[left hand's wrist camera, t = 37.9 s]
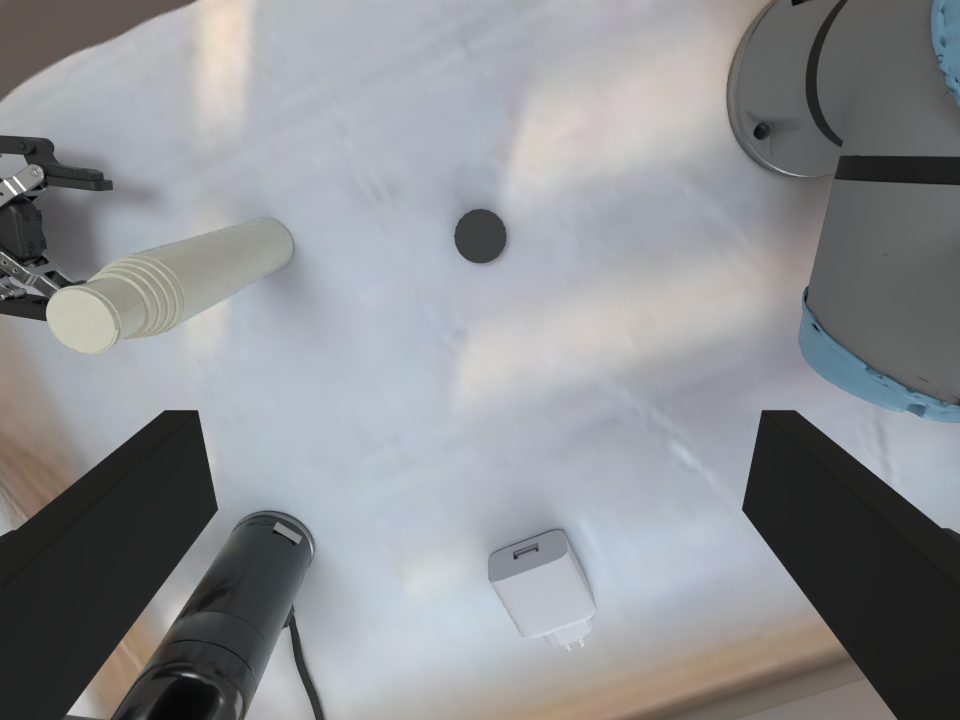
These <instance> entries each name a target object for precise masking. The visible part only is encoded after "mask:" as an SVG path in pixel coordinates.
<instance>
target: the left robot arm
mask: <svg viewBox="0 0 960 720" xmlns="http://www.w3.org/2000/svg"><path fill="white" fill-rule="evenodd" d="M727 106H728V113H729V118H730V122H731V126H732V128H733V131H734V134H735V136H736V138H737V140H738V141H739V143H740V145H741V146H742V148H743V149H744V150H745V151H746V153H747V154H748V155H749V156H750V157H751V158H752V159H753V160H755V161H756V162H757V163H759V164H760V165H762V166H763V167H765V168H767V169H769V170H771V171H773V172H776V173H780V174H783V175H789V176H800V177H820V176H827V175H832V174H835V177H834V178H835V179H834V181H833V185H832V189H831V194H830V198H829V202H828V206H827V211H826V215H825V219H824V223H823V228H822V232H821V236H820V240H819V244H818V249H817V253H816V257H815V261H814V266H813V270H812V274H811V278H810V283H809V286H807V287H806V288H805V290H804V293H803V296H802V304H803V314H802V320H801V325H800V331H799V337H798V339H799V346H800V347H801V352H802V353H803V357H804V358H805V360H806V361H807V363H808V364H809V365H810V366H811V367H812V368H813V369H814V370H815V371H816V372H817V373H818V374H819V375H821V376H822V377H823V378H825V379H826V380H828V381H829V382H831V383H832V384H834V385H836V386H837V387H839V388H841V389H843V390H844V391H846V392H848V393H850V394H852V395H854V396H857V397H859V398H861V399H863V400H865V401H868V402H870V403H873V404H875V405H878V406H881V407H884V408H887V409H890V410H893V411H897V412H903V411H910V412H912V413H914V414H916V415H918V416H919V417H921V418H925V419H930V420H936V421H942V422H960V0H772V1H771V2H770V3H769V4H768V5H767V6H766V7H765V8H764V9H763V10H762V11H761V12H760V13H759V14H758V16H757V17H756V18H755V19H754V21H753V22H752V23H751V25H750V26H749V28H748V29H747V31H746V33H745V34H744V36H743V38H742V40H741V42H740V44H739V46H738V48H737V50H736V53H735V56H734V58H733V62H732V65H731V69H730V73H729V79H728V86H727ZM217 510H218V507H217V502H216V497H215V492H214V487H213V483H212V478H211V473H210V468H209V463H208V458H207V453H206V448H205V443H204V438H203V433H202V428H201V423H200V418H199V413H198V410H165V411H163V412H162V413H161V414H160V415H158V416H157V417H156V418H155V419H154V420H152V421H151V422H150V423H149V424H147V425H146V426H145V427H144V428H142V429H141V430H140V431H139V432H137V433H136V434H135V435H134V436H132V437H131V438H130V439H129V440H127V441H126V442H125V443H124V444H122V445H121V446H120V447H119V448H118V449H116V450H115V451H114V452H113V453H111V454H110V455H109V456H108V457H106V458H105V459H104V460H103V461H101V462H100V463H99V464H98V465H96V466H95V467H94V468H93V469H91V470H90V471H89V472H88V473H86V474H85V475H84V476H83V477H81V478H80V479H79V480H78V481H77V482H75V483H74V484H73V485H72V486H70V487H69V488H68V489H67V490H65V491H64V492H63V493H62V494H60V495H59V496H58V497H57V498H55V499H54V500H53V501H52V502H50V503H49V504H48V505H47V506H45V507H44V508H43V509H42V510H41V511H39V512H38V513H37V514H36V515H34V516H33V517H32V518H31V519H29V520H28V521H27V522H26V523H24V524H23V525H22V526H21V527H19V528H18V529H17V530H12V531H10V532H8V533H6V534H4V535H2V536H0V720H62V719H63V718H64V717H65V715H66V714H67V713H68V711H69V710H70V709H71V707H72V706H73V705H74V703H75V702H76V701H77V699H78V698H79V696H80V695H81V694H82V692H83V691H84V690H85V688H86V687H87V686H88V684H89V683H90V682H91V680H92V679H93V678H94V676H95V675H96V674H97V672H98V671H99V670H100V668H101V667H102V665H103V664H104V663H105V661H106V660H107V659H108V657H109V656H110V655H111V653H112V652H113V651H114V649H115V648H116V647H117V645H118V644H119V643H120V641H121V640H122V639H123V637H124V636H125V634H126V633H127V632H128V630H129V629H130V628H131V626H132V625H133V624H134V622H135V621H136V620H137V618H138V617H139V616H140V614H141V613H142V612H143V610H144V609H145V608H146V606H147V605H148V603H149V602H150V601H151V599H152V598H153V597H154V595H155V594H156V593H157V591H158V590H159V589H160V587H161V586H162V585H163V583H164V582H165V581H166V579H167V578H168V576H169V575H170V574H171V572H172V571H173V570H174V568H175V567H176V566H177V564H178V563H179V562H180V560H181V559H182V558H183V556H184V555H185V554H186V552H187V551H188V550H189V548H190V547H191V545H192V544H193V543H194V541H195V540H196V539H197V537H198V536H199V535H200V533H201V532H202V531H203V529H204V528H205V527H206V525H207V524H208V523H209V521H210V520H211V519H212V517H213V516H214V514H215V513H216V512H217ZM742 510H743V512H744V513H745V514H746V516H747V517H748V519H749V520H750V521H751V523H752V524H753V525H754V527H755V528H756V529H757V531H758V532H759V533H760V535H761V536H762V537H763V539H764V540H765V541H766V543H767V544H768V545H769V547H770V548H771V550H772V551H773V552H774V554H775V555H776V556H777V558H778V559H779V560H780V562H781V563H782V564H783V566H784V567H785V568H786V570H787V571H788V572H789V574H790V575H791V576H792V578H793V579H794V581H795V582H796V583H797V585H798V586H799V587H800V589H801V590H802V591H803V593H804V594H805V595H806V597H807V598H808V599H809V601H810V602H811V603H812V605H813V606H814V608H815V609H816V610H817V612H818V613H819V614H820V616H821V617H822V618H823V620H824V621H825V622H826V624H827V625H828V626H829V628H830V629H831V630H832V632H833V633H834V634H835V636H836V637H837V639H838V640H839V641H840V643H841V644H842V645H843V647H844V648H845V649H846V651H847V652H848V653H849V655H850V656H851V657H852V659H853V660H854V661H855V663H856V664H857V665H858V667H859V668H860V670H861V671H862V672H863V674H864V675H865V676H866V678H867V679H868V680H869V682H870V683H871V684H872V686H873V687H874V688H875V690H876V691H877V692H878V694H879V695H880V696H881V698H882V699H883V701H884V702H885V703H886V705H887V706H888V707H889V709H890V710H891V711H892V713H893V714H894V715H895V717H896V718H897V719H898V720H960V534H958V533H956V532H955V531H953V530H951V529H949V528H941V527H939V526H938V525H937V524H936V523H934V522H933V521H932V520H931V519H929V518H928V517H927V516H926V515H924V514H923V513H922V512H921V511H919V510H918V509H917V508H916V507H915V506H913V505H912V504H911V503H910V502H908V501H907V500H906V499H905V498H903V497H902V496H901V495H900V494H898V493H897V492H896V491H895V490H893V489H892V488H891V487H890V486H888V485H887V484H886V483H885V482H883V481H882V480H881V479H880V478H879V477H877V476H876V475H875V474H874V473H872V472H871V471H870V470H869V469H867V468H866V467H865V466H864V465H862V464H861V463H860V462H859V461H857V460H856V459H855V458H854V457H852V456H851V455H850V454H849V453H847V452H846V451H845V450H844V449H842V448H841V447H840V446H839V445H838V444H836V443H835V442H834V441H833V440H831V439H830V438H829V437H828V436H826V435H825V434H824V433H823V432H821V431H820V430H819V429H818V428H816V427H815V426H814V425H813V424H811V423H810V422H809V421H808V420H806V419H805V418H804V417H803V416H802V415H800V414H799V413H798V412H797V411H795V410H762V413H761V418H760V423H759V428H758V433H757V438H756V443H755V448H754V453H753V458H752V463H751V468H750V473H749V478H748V482H747V487H746V492H745V497H744V502H743V507H742Z"/></svg>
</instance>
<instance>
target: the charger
mask: <svg viewBox="0 0 960 720" xmlns="http://www.w3.org/2000/svg"><path fill="white" fill-rule="evenodd" d="M488 571H489V581H490V582H491V584H492V586H493V588H494V589H495V591H496V593H497V595H498V596H499V598H500V600H501V602H502V603H503V605H504V607H505V608H506V610H507V612H508V614H509V615H510V617H511V619H512V621H513V622H514V624H515V626H516V628H517V629H518V631H519V633H520V634H521V636H523V637H528V638H538V637H541V636H543V637H544V638H545V640H546V642H547V643H548V644H550V645H557V646H562V645H564V646H565V648H566V650H567V651H570V650H571V648H570V646H569V644H568V643H571V642H574V641H577V640H578V642H579V644H580V646H581V647H583V646H584V642H583V641H582V639H581V638H583V637H584V636H585V635H586V634H587V633H588V632H589V631H590V630H591V628H592V626H591V624H590V622H589V619H590V618H591V617H592V615H593V614H594V612H595V611H596V604H595V601H594V597H593V593H592V589H591V586H590V584H589V582H588V580H587V578H586V576H585V574H584V572H583V570H582V568H581V566H580V564H579V562H578V560H577V558H576V556H575V554H574V552H573V550H572V548H571V546H570V544H569V542H568V540H567V538H566V536H565V534H564V532H563V531H562V530H554V531H550V532H547V533H544V534H542V535H539V536H536V537H534V538H531V539H528V540H526V541H523V542H520V543H518V544H515V545H512V546H510V547H507V548H504V549H502V550H499V551H497V552H495V553H494V554H492V555H491V556H490V557H489V559H488Z"/></svg>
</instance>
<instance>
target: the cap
mask: <svg viewBox="0 0 960 720" xmlns="http://www.w3.org/2000/svg"><path fill="white" fill-rule="evenodd" d="M454 237H455V243H456V244H455V245H456V246H457V249H458V251H459V252H460V254H461V255H462V256H463V257H464V258H466V259H467V260H469V261H471V262H475V263H486V262H489V261H492V260H493V259H495V258H496V257H497V256H498V255H499V254H500V253H501V252H502V250H503V248H504V246H505V241H506V233H505V227H504V226H503V224H502V220H500V219H499V218H498V217H497V216H496V214H494V213H492V212H490V211H489V210H488V211H487V210H483V209H478V210H472V211H470V212H469V213H467V214H465V215H464V216H463V217H462V218H461V219H460V220H459V223H458V225H457V226H456V231H455V236H454Z"/></svg>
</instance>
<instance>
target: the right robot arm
mask: <svg viewBox="0 0 960 720" xmlns="http://www.w3.org/2000/svg"><path fill="white" fill-rule="evenodd" d="M53 152H54V145H53V143H52V142H51V141H50V140H49V139H46V138H34V137H18V136H2V135H0V158H1V157H2V153H5V154H21V155H24V157H25V159H26V161H27V163H28V166H27V167H26V168H24V169H23V170H22V171H20V172H19V173H18V174H16V175H15V176H14V177H11V178H8V179H6V180H3V179H1V178H0V314H6V315H12V316H18V317H24V318H30V319H36V320H42V321H47V318H46V308H47V305H48V302H49V301H50V299H51V297H52V296H53V295H54V294H55V293H56V292H57V291H58V290H60V289H62V288H65V287H67V286H75V285H80V284H83V283H86V282H87V281H83V280H81V281H78V282H77V281H75V280H74V279H73V278H71V277H70V276H69V275H67V274H66V273H65V272H63V271H62V270H61V268H62V267H61V265H60V264H59V263H57V262H56V261H55V260H53V259H52V258H51V257H49V256H48V255H47V254H46V253H44V252H43V250H44V249H47V246H46V240H45V237H44V235H43V232H42V230H41V227H42V215H41V210H37V209H36V207H35V205H34V203H35V202H36V201H38V200H39V199H40V198H42V197H43V196H44V195H46V194H47V193H49V192H50V190H49V189H50V188H51V187H53V186H59V187H67V188H75V189H83V190H92V191H106V190H113V185H112V180H105V179H104V177H103V173H102V172H100V171H98V170H94V169H86V168H78V167H70V166H64V165H61V164H60V163H58V162H57V160H56V159H55V157H54V155H53ZM31 263H32V264H34V265H35V266H36V267H29V266H28V265H29V264H31ZM10 276H12V277H14V278H15V279H16V280H18V281H19V282H21V283H22V284H24V285H28V286H32V287H34V288H35V289H37V290H38V291H39V292H41V293H42V294H43V295H45V296H46V297H45V296H39V295H33V294H27V291H26V289H24V288H20V287H18V286H15V285H13V284H12V283H11V282H10V280H9V278H8V277H10ZM313 556H314V543H313V539H312V537H311V535H310V533H309V532H308V530H307V529H306V528H305V527H304V526H303V525H302V524H301V523H300V522H298V521H297V520H295V519H294V518H292V517H290V516H288V515H285V514H282V513H278V512H269V511H268V512H258V513H254V514H251V515H249V516H247V517H245V518H244V519H242V520H241V521H240V522H239V523H238V524H237V525H236V527H235V528H234V530H233V532H232V533H231V536H230V538H229V539H228V541H227V542H226V544H225V545H224V547H223V548H222V550H221V551H220V553H219V554H218V556H217V557H216V559H215V560H214V562H213V563H212V565H211V566H210V568H209V569H208V571H207V572H206V574H205V575H204V577H203V578H202V580H201V582H200V583H199V585H198V586H197V588H196V589H195V591H194V592H193V594H192V595H191V597H190V598H189V600H188V601H187V603H186V604H185V606H184V607H183V609H182V610H181V612H180V614H179V615H178V617H177V618H176V620H175V621H174V623H173V624H172V626H171V627H170V629H169V631H168V632H167V634H166V635H165V637H164V638H163V640H162V641H161V643H160V644H159V646H158V647H157V649H156V650H155V652H154V653H153V655H152V656H151V658H150V659H149V661H148V662H147V664H146V665H145V667H144V668H143V670H142V671H141V673H140V674H139V676H138V677H137V679H136V680H135V682H134V683H133V685H132V686H131V688H130V689H129V691H128V692H127V694H126V695H125V697H124V698H123V700H122V702H121V703H120V705H119V706H118V708H117V709H116V711H115V712H114V714H113V716H112V717H111V719H110V720H244V719H245V717H246V714H247V712H248V710H249V707H250V705H251V702H252V700H253V697H254V694H255V692H256V690H257V687H258V685H259V683H260V680H261V678H262V675H263V673H264V671H265V668H266V666H267V664H268V661H269V658H270V656H271V654H272V651H273V649H274V646H275V644H276V642H277V639H278V637H279V635H280V632H281V630H282V629H283V628H284V627H288V625H289V626H290V631H291V637H292V644H293V651H294V657H295V661H296V665H297V668H298V671H299V674H300V676H301V679H302V682H303V684H304V686H305V689H306V691H307V694H308V696H309V699H310V701H311V704H312V707H313V710H314V714H315V718H316V720H324V719H323V715H322V711H321V707H320V704H319V701H318V698H317V695H316V692H315V690H314V687H313V685H312V683H311V680H310V678H309V675H308V673H307V670H306V667H305V664H304V661H303V657H302V652H301V646H300V639H299V634H298V631H297V627H296V622H295V618H294V615H293V613H294V607H293V602H294V599H295V597H296V594H297V592H298V590H299V587H300V585H301V583H302V581H303V578H304V576H305V573H306V571H307V569H308V567H309V566H310V564H311V561H312V559H313ZM62 720H104V719H96V718H88V717H80V716H72V715H65V717H64V718H63V719H62Z"/></svg>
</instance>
